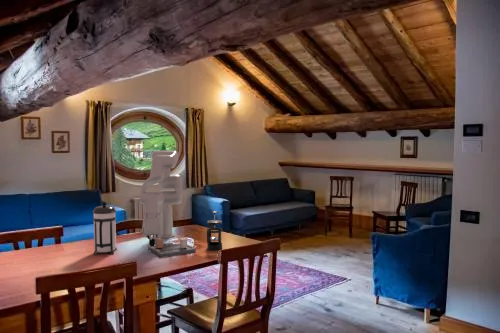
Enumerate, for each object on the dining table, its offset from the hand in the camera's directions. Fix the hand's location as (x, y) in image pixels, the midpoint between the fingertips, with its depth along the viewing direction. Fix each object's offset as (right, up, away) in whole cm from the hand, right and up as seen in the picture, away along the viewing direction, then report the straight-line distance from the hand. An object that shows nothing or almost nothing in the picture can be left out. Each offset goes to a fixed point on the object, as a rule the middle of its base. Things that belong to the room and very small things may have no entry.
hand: (152, 246), depth 252 cm
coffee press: (-27, -4, -2) cm, 27 cm away
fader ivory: (+18, -1, +2) cm, 18 cm away
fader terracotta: (+4, -1, +2) cm, 5 cm away
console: (+11, -4, +3) cm, 12 cm away
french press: (+36, -3, +8) cm, 37 cm away
